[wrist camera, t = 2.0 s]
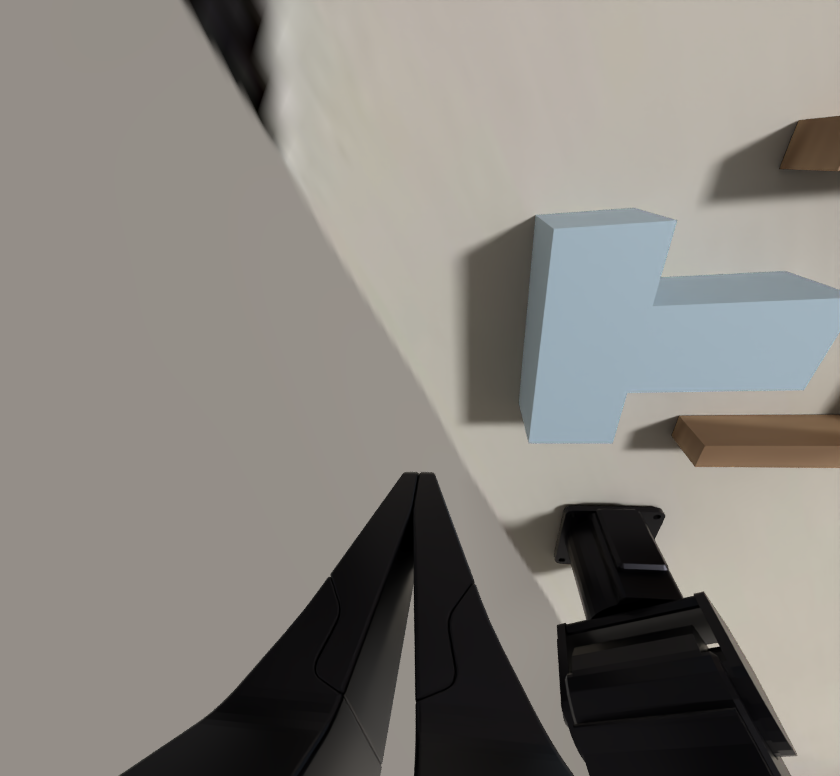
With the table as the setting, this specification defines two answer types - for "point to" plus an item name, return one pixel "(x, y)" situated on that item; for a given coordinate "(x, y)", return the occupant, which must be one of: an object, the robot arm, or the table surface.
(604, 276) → the t block
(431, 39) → the table surface
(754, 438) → the pocket
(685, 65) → the table surface
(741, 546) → the table surface
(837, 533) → the table surface
